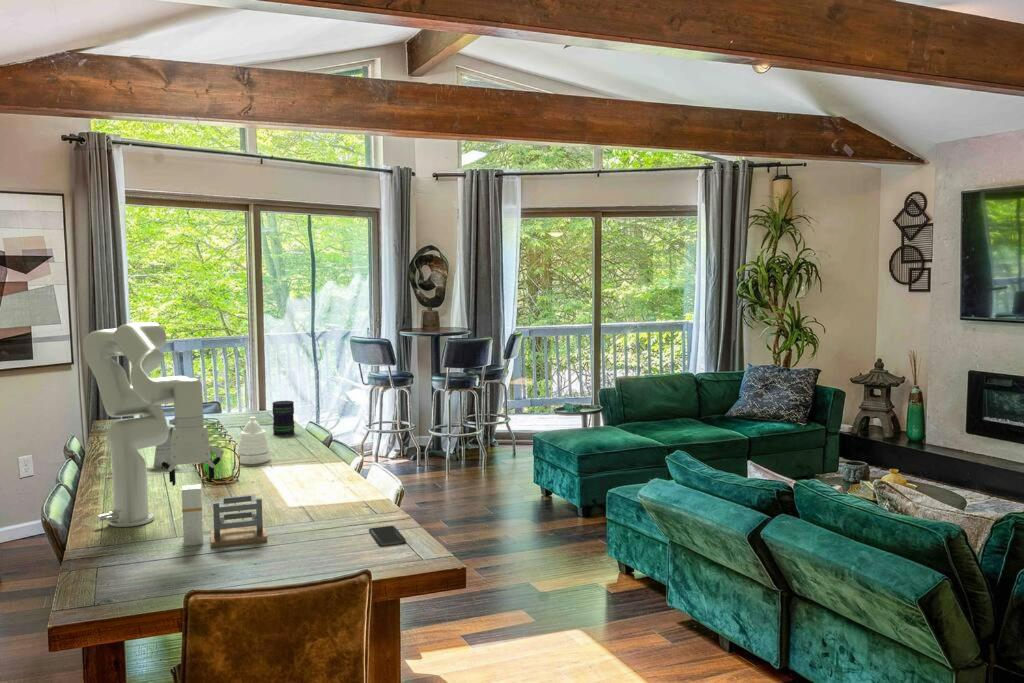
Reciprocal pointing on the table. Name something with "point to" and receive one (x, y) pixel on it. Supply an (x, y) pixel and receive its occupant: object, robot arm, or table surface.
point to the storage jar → (283, 418)
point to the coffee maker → (164, 449)
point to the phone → (387, 536)
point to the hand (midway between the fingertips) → (192, 482)
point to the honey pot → (253, 444)
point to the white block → (192, 514)
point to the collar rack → (238, 522)
